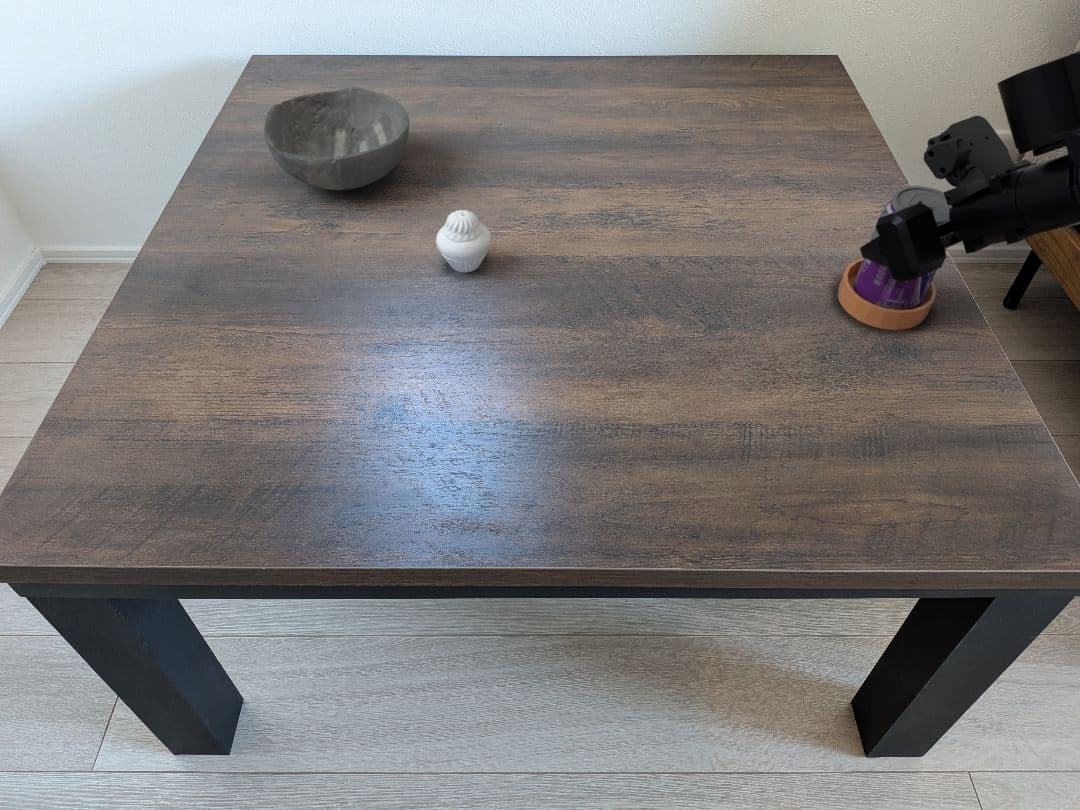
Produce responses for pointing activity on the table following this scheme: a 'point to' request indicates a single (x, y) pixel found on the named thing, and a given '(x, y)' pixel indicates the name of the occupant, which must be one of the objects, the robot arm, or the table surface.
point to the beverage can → (877, 278)
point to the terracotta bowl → (875, 313)
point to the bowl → (337, 137)
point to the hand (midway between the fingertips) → (894, 238)
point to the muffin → (463, 241)
